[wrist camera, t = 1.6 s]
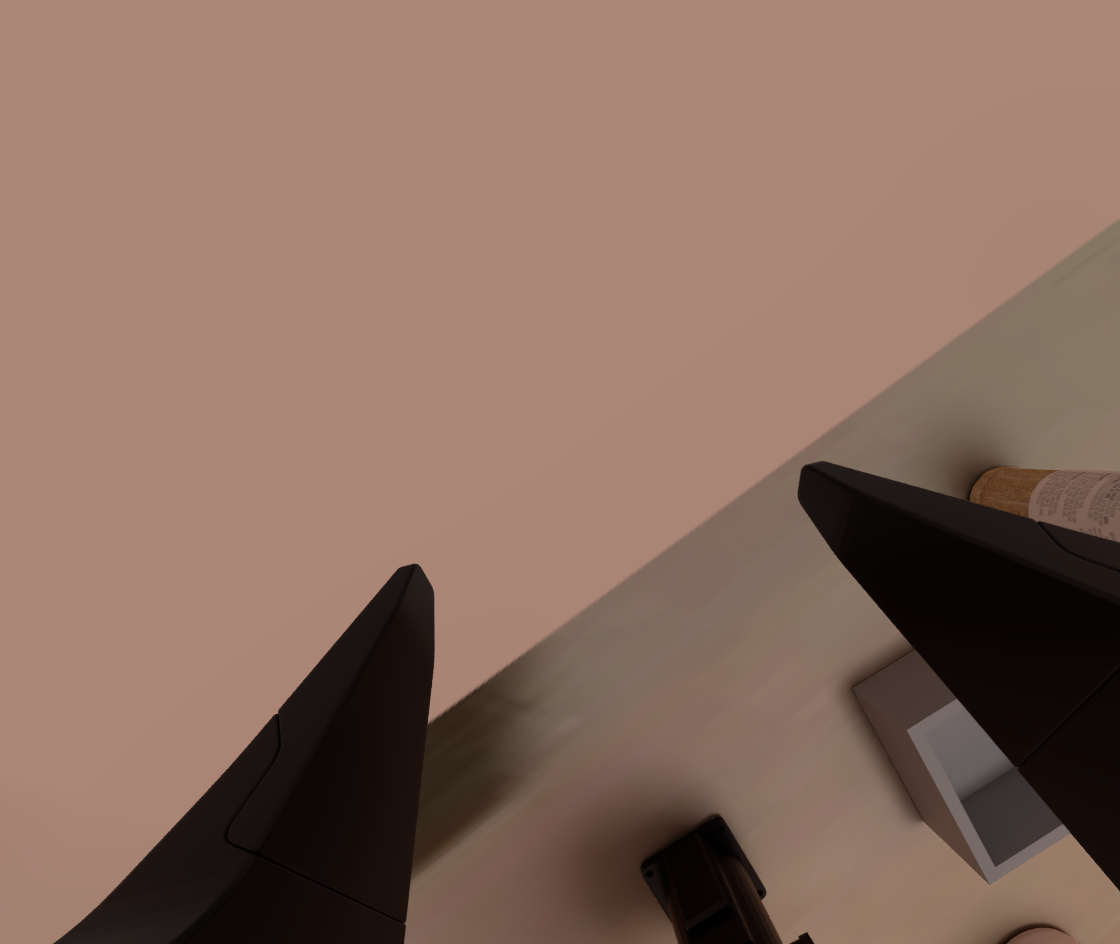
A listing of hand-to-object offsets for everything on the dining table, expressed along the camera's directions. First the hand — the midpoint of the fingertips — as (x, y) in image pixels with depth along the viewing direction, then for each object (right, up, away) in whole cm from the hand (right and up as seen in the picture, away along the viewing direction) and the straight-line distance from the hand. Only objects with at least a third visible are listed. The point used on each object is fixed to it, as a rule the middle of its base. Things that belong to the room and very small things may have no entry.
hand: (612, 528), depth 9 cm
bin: (+26, -15, +19) cm, 36 cm away
